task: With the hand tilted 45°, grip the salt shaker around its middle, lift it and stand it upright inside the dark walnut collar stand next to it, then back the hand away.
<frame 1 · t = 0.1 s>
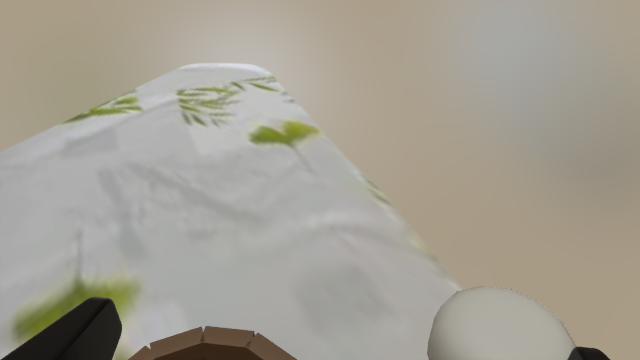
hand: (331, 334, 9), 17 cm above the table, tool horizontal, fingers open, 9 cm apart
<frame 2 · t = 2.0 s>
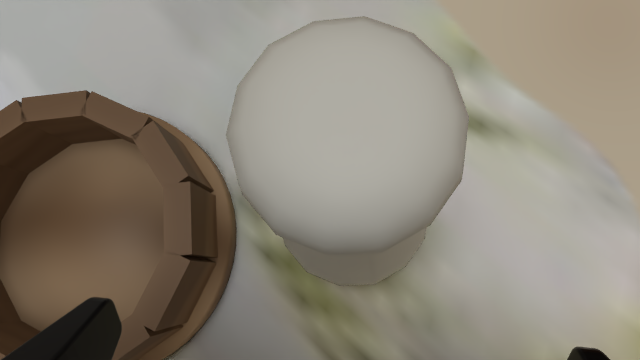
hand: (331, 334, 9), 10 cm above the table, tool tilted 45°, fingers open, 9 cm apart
collar stand: (110, 239, 21), on the table
salt shaker: (353, 217, 20), on the table
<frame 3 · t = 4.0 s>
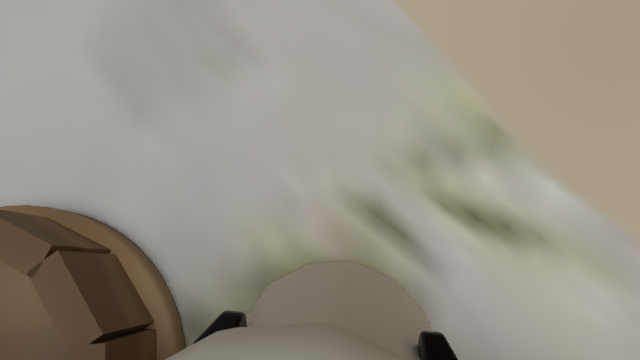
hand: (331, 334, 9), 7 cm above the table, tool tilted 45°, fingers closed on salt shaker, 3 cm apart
salt shaker: (339, 350, 15), on the table, touching gripper
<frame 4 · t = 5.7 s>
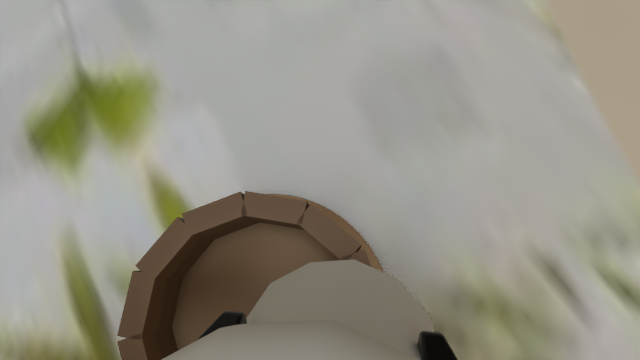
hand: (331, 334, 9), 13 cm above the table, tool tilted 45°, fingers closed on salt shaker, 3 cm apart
collar stand: (271, 316, 22), on the table
salt shaker: (341, 348, 15), point 6 cm above the table, touching gripper
when the fingers open (8 cm above the table, at t = 7.4 s): salt shaker stays where it is, resting on collar stand.
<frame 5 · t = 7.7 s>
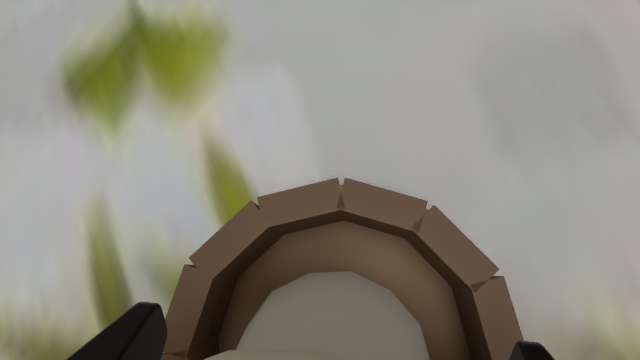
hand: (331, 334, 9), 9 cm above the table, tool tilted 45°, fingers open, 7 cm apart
collar stand: (342, 341, 17), on the table
salt shaker: (339, 353, 16), point 1 cm above the table, touching collar stand
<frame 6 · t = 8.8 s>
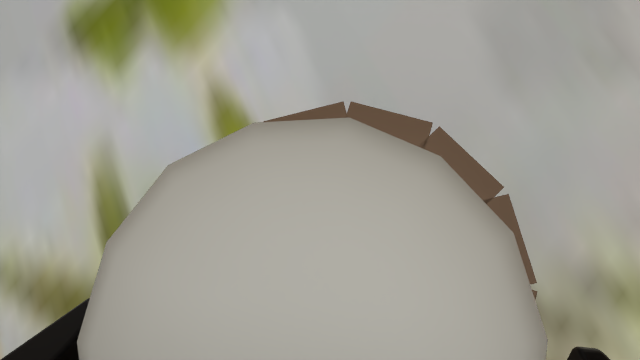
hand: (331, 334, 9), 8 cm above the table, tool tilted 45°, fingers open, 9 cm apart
collar stand: (346, 276, 17), on the table
salt shaker: (344, 284, 16), point 1 cm above the table, touching collar stand
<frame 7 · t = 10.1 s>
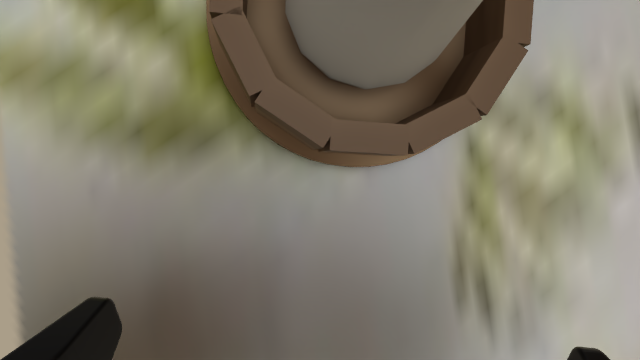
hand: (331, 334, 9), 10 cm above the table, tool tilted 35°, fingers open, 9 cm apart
collar stand: (353, 25, 19), on the table
salt shaker: (355, 24, 18), point 1 cm above the table, touching collar stand
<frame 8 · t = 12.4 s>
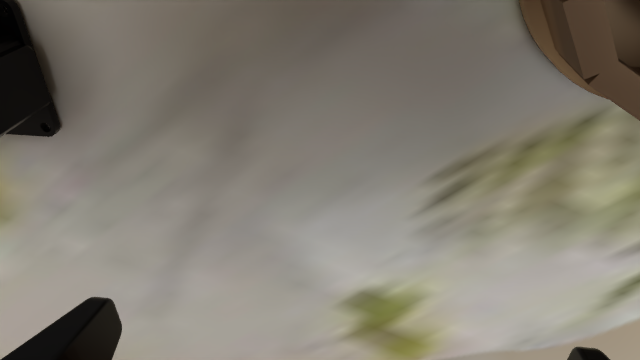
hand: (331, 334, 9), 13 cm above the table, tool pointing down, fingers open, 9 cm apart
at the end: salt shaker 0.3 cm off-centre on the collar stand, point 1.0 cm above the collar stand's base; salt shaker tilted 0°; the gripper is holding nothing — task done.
